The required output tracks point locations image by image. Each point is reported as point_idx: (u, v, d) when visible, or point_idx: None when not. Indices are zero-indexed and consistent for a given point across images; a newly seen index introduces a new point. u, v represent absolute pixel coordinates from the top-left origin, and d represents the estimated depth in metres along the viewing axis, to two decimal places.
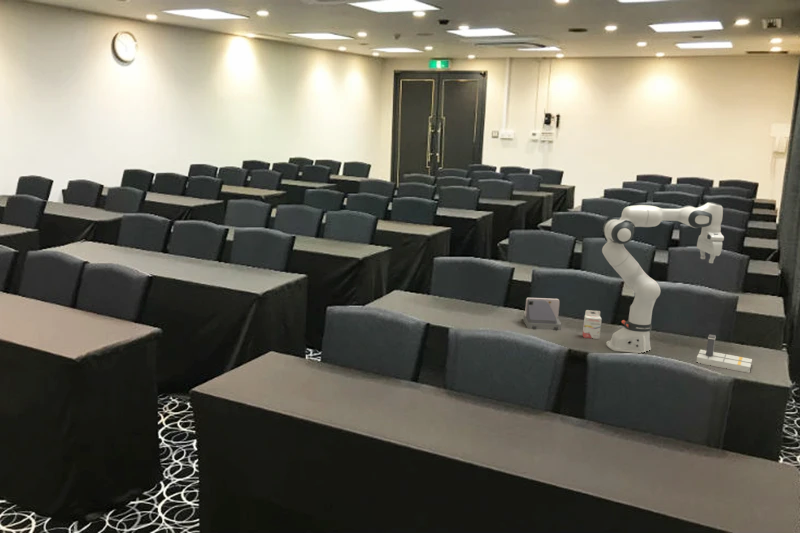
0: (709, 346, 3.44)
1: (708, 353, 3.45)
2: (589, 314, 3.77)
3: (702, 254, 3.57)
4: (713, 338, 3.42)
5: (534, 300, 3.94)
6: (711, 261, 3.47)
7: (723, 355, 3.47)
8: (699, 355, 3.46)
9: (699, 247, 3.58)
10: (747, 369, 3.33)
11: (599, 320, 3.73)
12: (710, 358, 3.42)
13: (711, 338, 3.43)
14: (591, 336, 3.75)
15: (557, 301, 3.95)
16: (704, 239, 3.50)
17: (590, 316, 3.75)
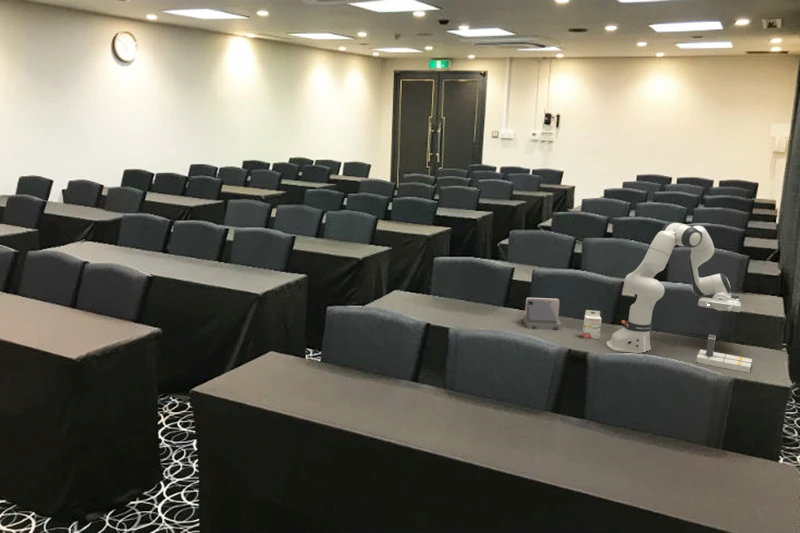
0: (709, 346, 3.44)
1: (708, 353, 3.45)
2: (589, 314, 3.77)
3: None
4: (713, 338, 3.42)
5: (534, 300, 3.94)
6: (729, 309, 3.50)
7: (723, 355, 3.47)
8: (699, 355, 3.46)
9: (706, 300, 3.60)
10: (747, 369, 3.33)
11: (599, 320, 3.73)
12: (710, 358, 3.42)
13: (711, 338, 3.43)
14: (591, 336, 3.75)
15: (557, 301, 3.95)
16: (722, 297, 3.61)
17: (590, 316, 3.75)
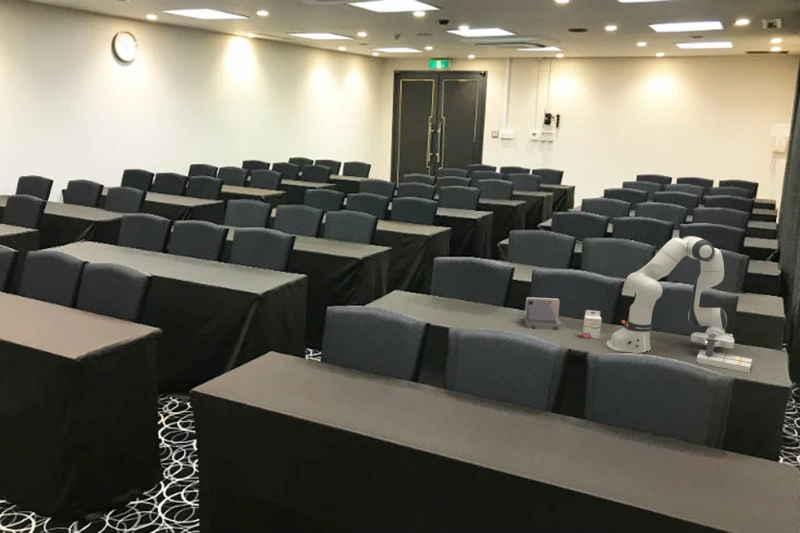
0: (709, 346, 3.44)
1: (708, 353, 3.45)
2: (589, 314, 3.77)
3: None
4: (713, 338, 3.42)
5: (534, 300, 3.94)
6: (717, 344, 3.44)
7: (723, 355, 3.47)
8: (699, 355, 3.46)
9: (698, 335, 3.52)
10: (747, 369, 3.33)
11: (599, 320, 3.73)
12: (710, 358, 3.42)
13: (711, 338, 3.43)
14: (591, 336, 3.75)
15: (557, 301, 3.96)
16: (715, 333, 3.53)
17: (590, 316, 3.75)
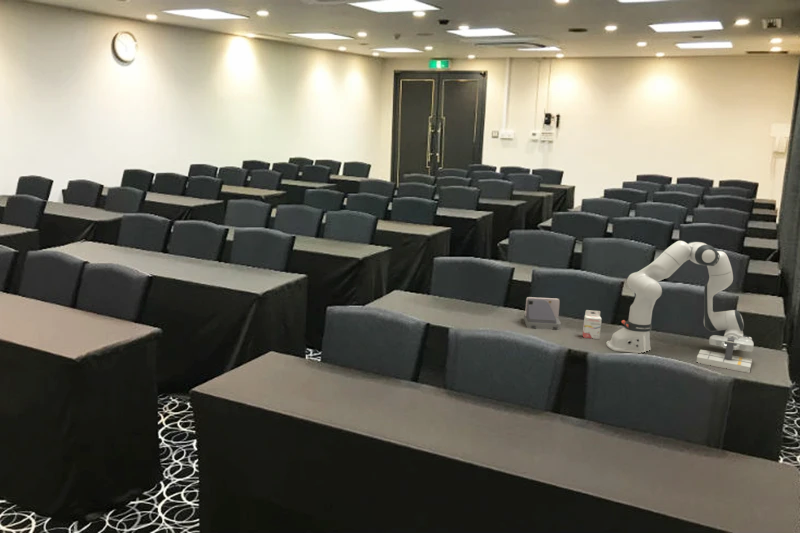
0: (728, 349, 3.40)
1: (727, 357, 3.41)
2: (589, 314, 3.77)
3: None
4: (732, 341, 3.38)
5: (534, 300, 3.95)
6: (736, 348, 3.40)
7: (723, 355, 3.47)
8: (699, 355, 3.46)
9: (717, 338, 3.48)
10: (747, 369, 3.33)
11: (599, 320, 3.73)
12: (710, 358, 3.42)
13: (730, 341, 3.39)
14: (591, 336, 3.75)
15: (557, 301, 3.96)
16: (734, 336, 3.49)
17: (590, 316, 3.75)
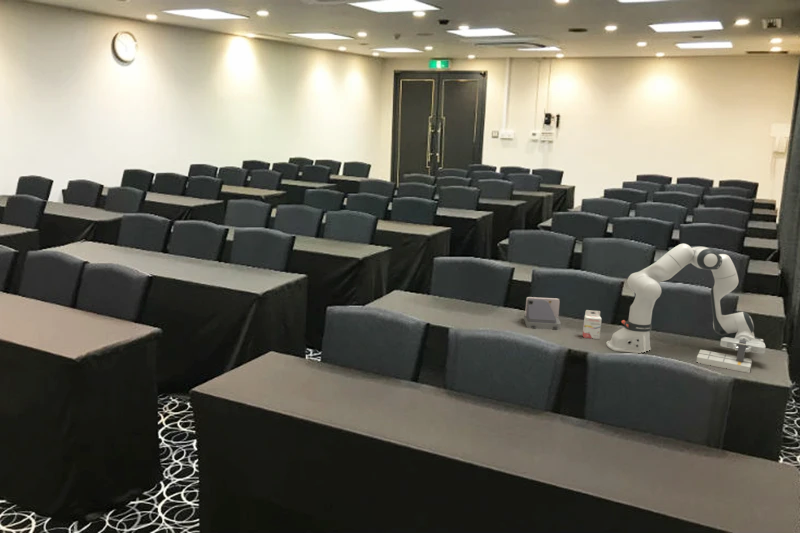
0: (739, 351, 3.38)
1: (739, 359, 3.38)
2: (589, 314, 3.77)
3: None
4: (744, 343, 3.36)
5: (534, 299, 3.95)
6: (748, 350, 3.37)
7: (723, 355, 3.47)
8: (699, 355, 3.46)
9: (728, 340, 3.46)
10: (747, 369, 3.33)
11: (599, 320, 3.73)
12: (710, 358, 3.42)
13: (742, 343, 3.36)
14: (591, 336, 3.75)
15: (557, 301, 3.96)
16: (745, 338, 3.47)
17: (590, 316, 3.75)
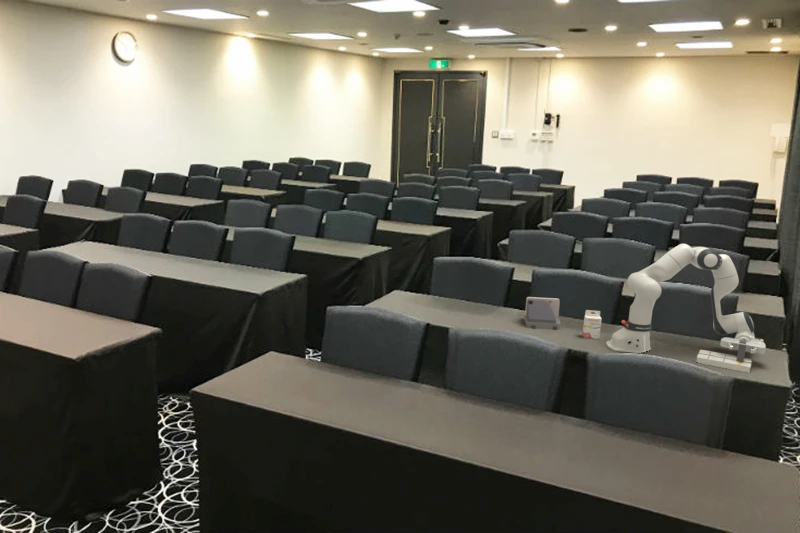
0: (740, 351, 3.37)
1: (739, 359, 3.38)
2: (589, 314, 3.77)
3: None
4: (744, 344, 3.36)
5: (534, 299, 3.95)
6: (754, 351, 3.36)
7: (723, 355, 3.47)
8: (699, 355, 3.46)
9: (728, 340, 3.46)
10: (747, 369, 3.33)
11: (599, 320, 3.73)
12: (710, 358, 3.42)
13: (742, 344, 3.36)
14: (591, 336, 3.75)
15: (557, 301, 3.96)
16: (745, 338, 3.47)
17: (590, 316, 3.75)
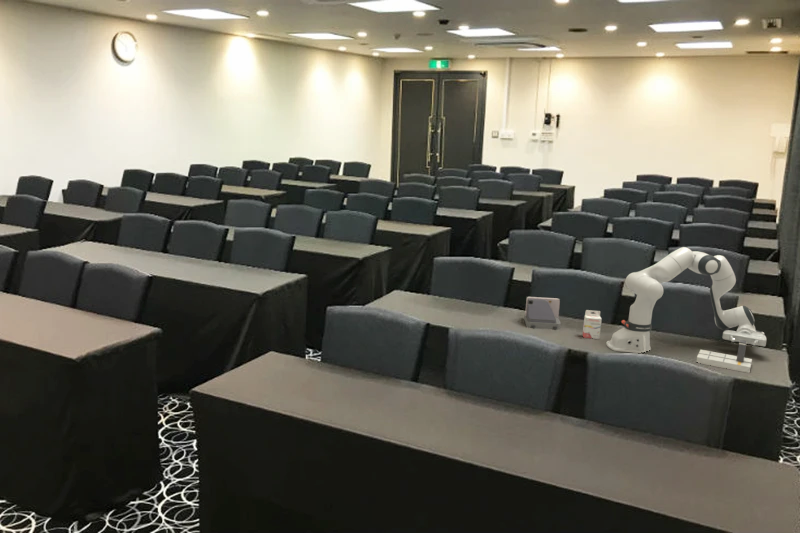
0: (740, 351, 3.37)
1: (739, 359, 3.38)
2: (589, 314, 3.77)
3: None
4: (744, 344, 3.36)
5: (534, 299, 3.95)
6: (755, 343, 3.47)
7: (723, 355, 3.47)
8: (699, 355, 3.46)
9: (730, 333, 3.57)
10: (747, 369, 3.33)
11: (599, 320, 3.73)
12: (710, 358, 3.42)
13: (742, 344, 3.36)
14: (591, 336, 3.75)
15: (557, 301, 3.96)
16: (747, 331, 3.58)
17: (590, 316, 3.75)
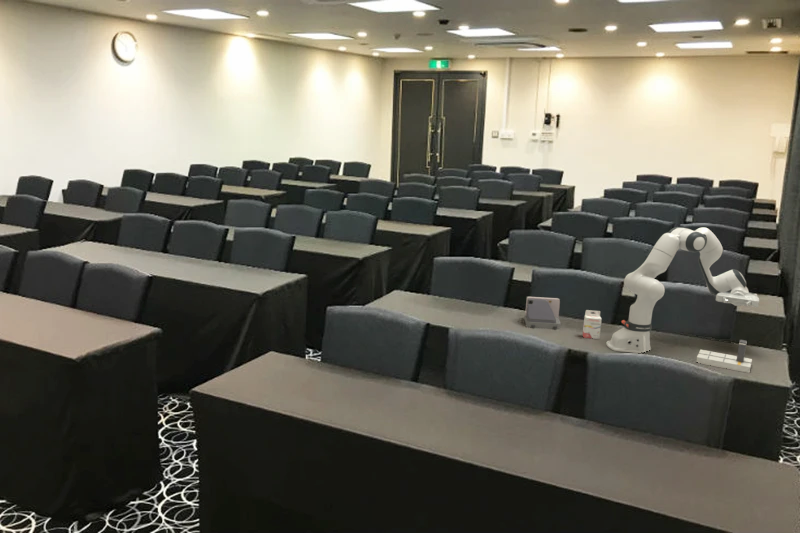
0: (740, 351, 3.37)
1: (739, 359, 3.38)
2: (589, 314, 3.77)
3: None
4: (744, 344, 3.36)
5: (534, 299, 3.96)
6: (748, 304, 3.49)
7: (723, 355, 3.47)
8: (699, 355, 3.46)
9: (724, 295, 3.59)
10: (747, 369, 3.33)
11: (599, 320, 3.73)
12: (710, 358, 3.42)
13: (742, 344, 3.36)
14: (591, 336, 3.75)
15: (557, 301, 3.96)
16: (740, 293, 3.59)
17: (590, 316, 3.75)
